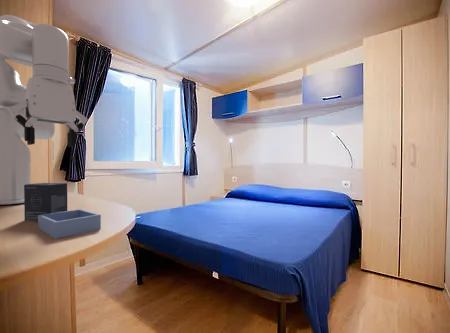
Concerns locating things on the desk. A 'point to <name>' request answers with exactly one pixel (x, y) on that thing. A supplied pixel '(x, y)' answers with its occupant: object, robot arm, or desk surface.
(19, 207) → the desk surface
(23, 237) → the desk surface
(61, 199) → the box
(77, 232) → the tray
